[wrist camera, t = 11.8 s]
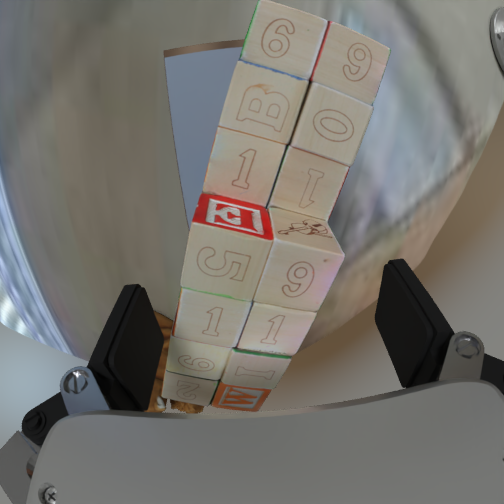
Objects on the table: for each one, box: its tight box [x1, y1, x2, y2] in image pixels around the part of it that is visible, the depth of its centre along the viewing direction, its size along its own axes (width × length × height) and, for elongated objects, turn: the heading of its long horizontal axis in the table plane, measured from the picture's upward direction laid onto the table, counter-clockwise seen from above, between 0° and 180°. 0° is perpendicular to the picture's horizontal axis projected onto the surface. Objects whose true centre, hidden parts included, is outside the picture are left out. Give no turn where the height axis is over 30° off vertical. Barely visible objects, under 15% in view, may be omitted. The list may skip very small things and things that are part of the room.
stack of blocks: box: [161, 0, 391, 412], centre depth 17 cm, size 21×6×12 cm, turn 164°
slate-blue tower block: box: [165, 47, 243, 231], centre depth 25 cm, size 10×23×4 cm, turn 5°
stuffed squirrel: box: [144, 311, 204, 414], centre depth 37 cm, size 10×14×13 cm
